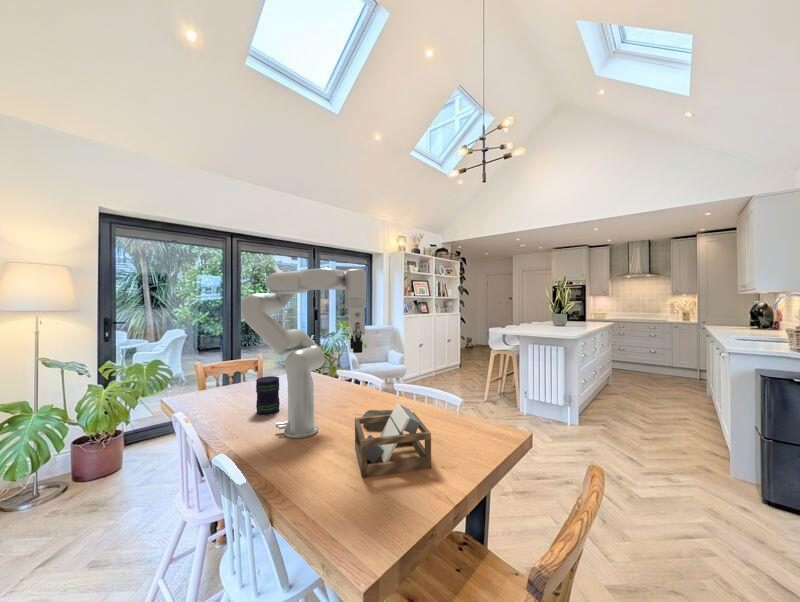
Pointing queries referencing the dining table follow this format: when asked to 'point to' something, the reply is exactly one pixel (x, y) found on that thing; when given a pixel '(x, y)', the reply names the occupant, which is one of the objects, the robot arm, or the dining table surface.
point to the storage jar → (267, 395)
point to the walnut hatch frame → (413, 439)
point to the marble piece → (376, 425)
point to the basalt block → (373, 451)
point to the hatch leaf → (398, 427)
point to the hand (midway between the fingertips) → (356, 350)
